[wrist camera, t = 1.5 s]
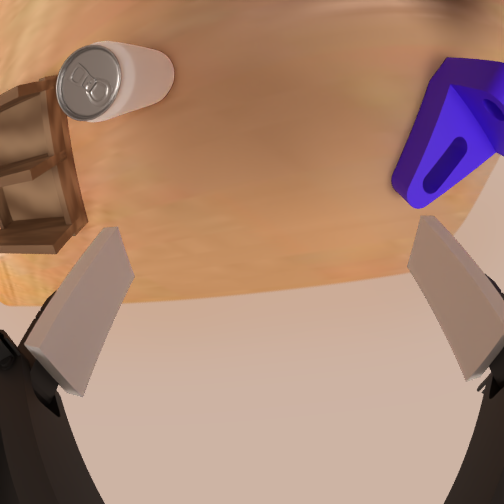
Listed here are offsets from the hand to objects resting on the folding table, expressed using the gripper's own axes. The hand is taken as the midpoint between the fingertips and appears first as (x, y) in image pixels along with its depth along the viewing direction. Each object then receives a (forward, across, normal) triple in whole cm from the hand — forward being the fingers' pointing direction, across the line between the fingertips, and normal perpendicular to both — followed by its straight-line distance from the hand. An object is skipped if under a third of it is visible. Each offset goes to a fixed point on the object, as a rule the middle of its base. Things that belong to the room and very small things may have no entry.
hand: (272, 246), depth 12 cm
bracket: (+20, +21, +2) cm, 29 cm away
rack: (+20, -31, +2) cm, 37 cm away
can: (+20, -12, +8) cm, 25 cm away
